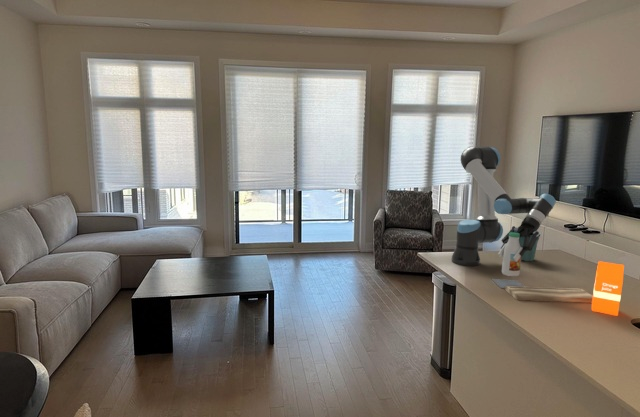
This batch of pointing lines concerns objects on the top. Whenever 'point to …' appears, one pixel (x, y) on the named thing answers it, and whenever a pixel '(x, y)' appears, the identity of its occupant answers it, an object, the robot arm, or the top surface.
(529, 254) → the flower pot
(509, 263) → the milk bottle
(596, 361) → the top surface
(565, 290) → the oak board
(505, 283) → the plate
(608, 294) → the orange juice
